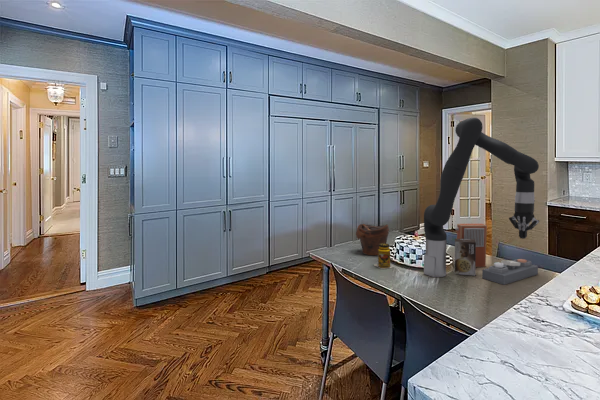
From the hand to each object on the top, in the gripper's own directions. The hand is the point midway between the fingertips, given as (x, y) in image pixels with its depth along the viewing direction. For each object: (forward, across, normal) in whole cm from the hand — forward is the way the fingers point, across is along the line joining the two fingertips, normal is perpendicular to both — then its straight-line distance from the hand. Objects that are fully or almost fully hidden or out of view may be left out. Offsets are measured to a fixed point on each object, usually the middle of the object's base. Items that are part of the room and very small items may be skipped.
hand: (522, 238), depth 158 cm
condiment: (+17, -43, -47) cm, 66 cm away
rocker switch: (+11, 0, -9) cm, 14 cm away
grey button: (+11, 0, -18) cm, 21 cm away
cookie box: (+17, -14, -22) cm, 31 cm away
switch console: (+17, 0, -9) cm, 19 cm away
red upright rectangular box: (+17, -20, -9) cm, 28 cm away
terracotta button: (+13, 0, 0) cm, 13 cm away
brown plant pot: (+17, -67, -34) cm, 77 cm away
